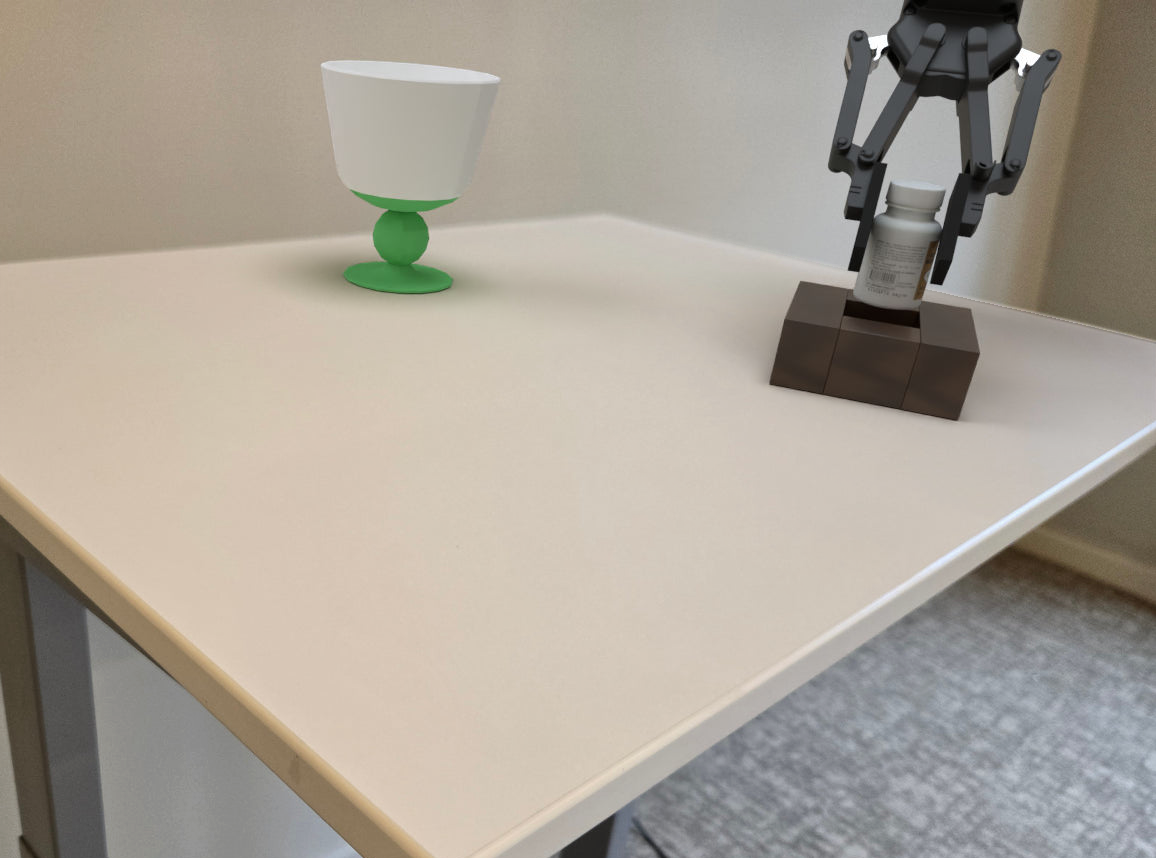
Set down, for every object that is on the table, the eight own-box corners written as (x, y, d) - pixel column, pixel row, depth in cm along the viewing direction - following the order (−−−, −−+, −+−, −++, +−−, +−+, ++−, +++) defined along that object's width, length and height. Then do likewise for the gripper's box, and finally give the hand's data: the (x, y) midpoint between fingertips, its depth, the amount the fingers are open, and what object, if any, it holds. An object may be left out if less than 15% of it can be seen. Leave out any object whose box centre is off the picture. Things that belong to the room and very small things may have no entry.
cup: (393, 250, 97) (405, 59, 90) (514, 285, 90) (537, 80, 82) (279, 271, 88) (282, 60, 80) (403, 312, 80) (419, 83, 73)
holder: (952, 369, 79) (971, 308, 77) (958, 420, 69) (980, 352, 67) (785, 338, 82) (800, 280, 80) (768, 384, 72) (784, 318, 70)
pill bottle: (930, 313, 71) (967, 193, 67) (865, 308, 71) (898, 187, 67) (904, 296, 75) (937, 181, 71) (842, 291, 75) (872, 175, 71)
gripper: (1087, 34, 75) (1029, 321, 69) (830, 10, 80) (755, 276, 74) (1129, -57, 68) (1068, 254, 62) (844, -76, 73) (763, 209, 67)
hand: (898, 265), depth 68 cm, fingers closed on pill bottle, 4 cm apart
